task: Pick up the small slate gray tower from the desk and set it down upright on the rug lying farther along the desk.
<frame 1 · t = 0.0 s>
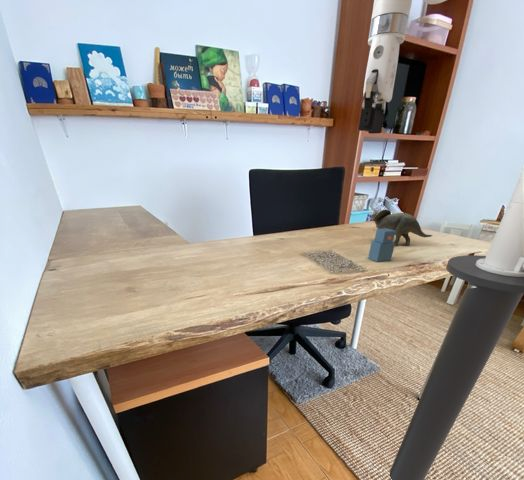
hand: (370, 131, 72), 30 cm above the table, tool pointing down, fingers open, 9 cm apart
slate gray tower: (379, 259, 86), on the table
rug: (331, 262, 84), on the table
toy dinosaur: (392, 244, 102), on the table
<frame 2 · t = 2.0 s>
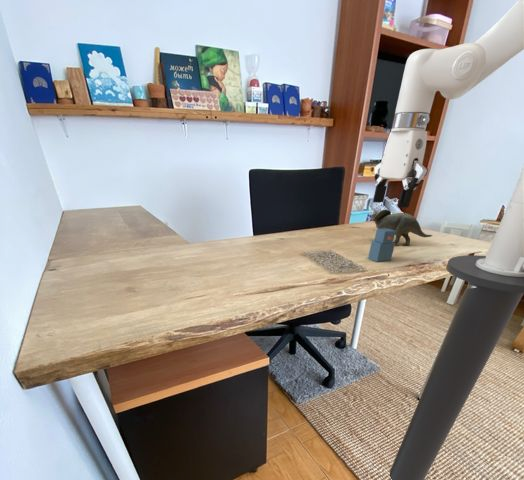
hand: (389, 204, 79), 15 cm above the table, tool pointing down, fingers open, 9 cm apart
nothing on the table moved.
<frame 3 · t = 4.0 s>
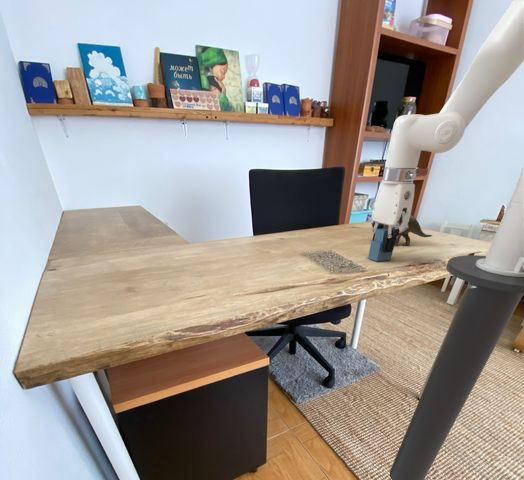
hand: (381, 249, 85), 3 cm above the table, tool pointing down, fingers closed on slate gray tower, 4 cm apart
slate gray tower: (379, 259, 86), on the table, touching gripper
everything else where it was.
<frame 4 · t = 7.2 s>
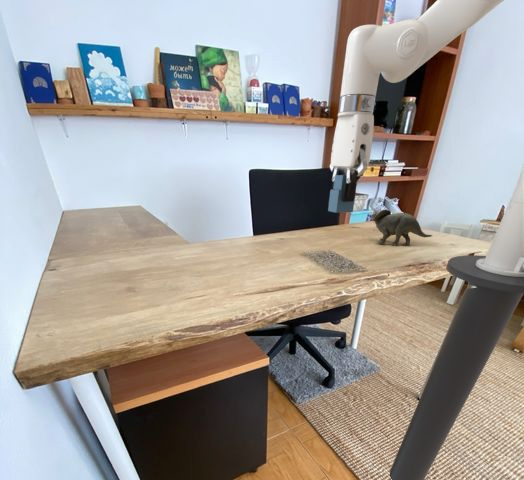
hand: (342, 199, 75), 16 cm above the table, tool pointing down, fingers closed on slate gray tower, 4 cm apart
slate gray tower: (340, 211, 76), point 13 cm above the table, touching gripper
everything else where it was.
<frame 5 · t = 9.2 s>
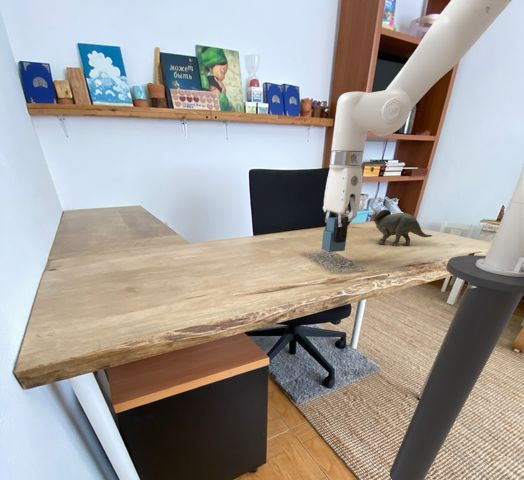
hand: (334, 239, 80), 6 cm above the table, tool pointing down, fingers closed on slate gray tower, 4 cm apart
slate gray tower: (332, 250, 82), point 3 cm above the table, touching gripper
everything else where it was.
when the fingers open (3 cm above the table, at t = 10.5 s): slate gray tower stays where it is, resting on rug.
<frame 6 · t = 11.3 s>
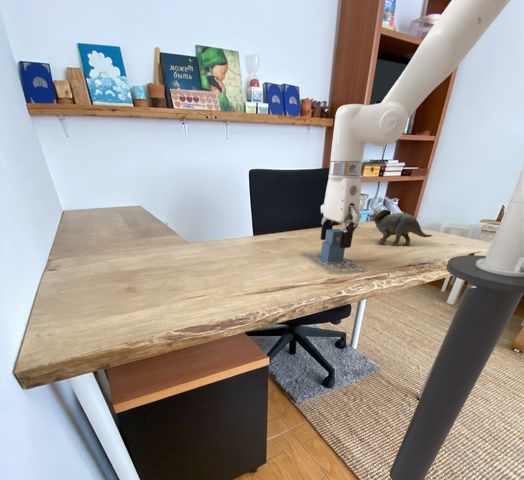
hand: (334, 243, 81), 5 cm above the table, tool pointing down, fingers open, 9 cm apart
slate gray tower: (331, 260, 83), resting on rug
rug: (331, 262, 84), on the table, touching slate gray tower
everything else where it was.
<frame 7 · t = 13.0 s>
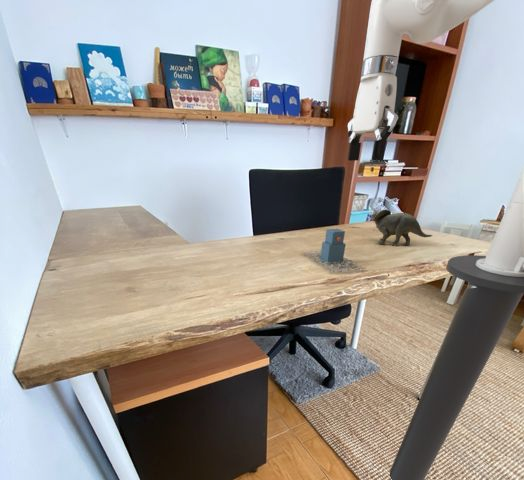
hand: (364, 160, 76), 24 cm above the table, tool pointing down, fingers open, 9 cm apart
nothing on the table moved.
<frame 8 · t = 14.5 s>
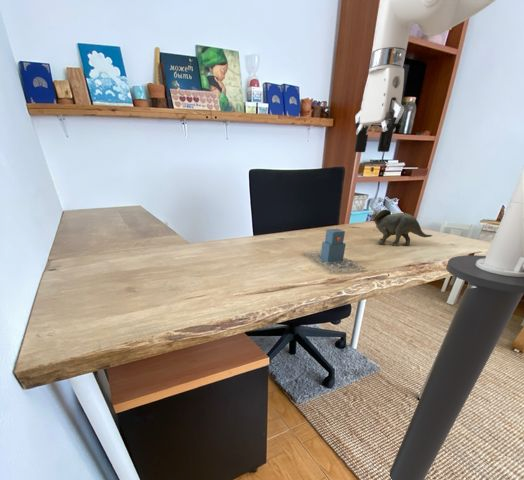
hand: (370, 151, 78), 26 cm above the table, tool pointing down, fingers open, 9 cm apart
nothing on the table moved.
at the end: slate gray tower inside the target area on the rug (0.1 cm from its centre), point 0.3 cm above the rug's base; slate gray tower tilted 0°; the gripper is holding nothing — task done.
